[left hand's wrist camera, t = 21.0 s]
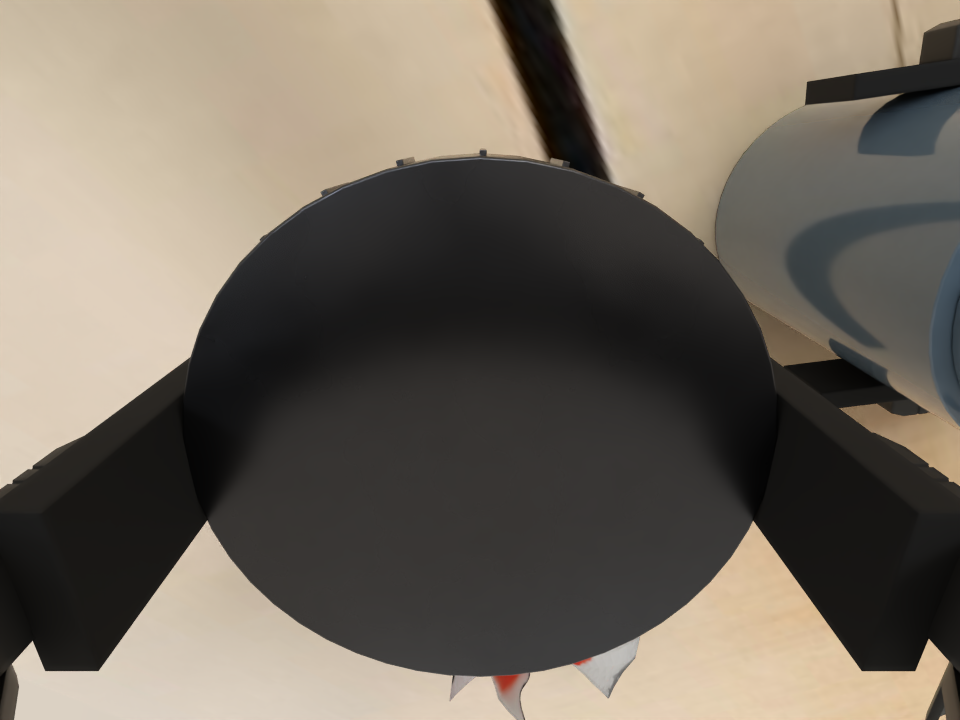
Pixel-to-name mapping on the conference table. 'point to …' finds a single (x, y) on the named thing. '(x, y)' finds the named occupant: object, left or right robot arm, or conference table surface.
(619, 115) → the conference table surface
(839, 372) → the right robot arm
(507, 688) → the fish
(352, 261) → the lid
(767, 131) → the jar
